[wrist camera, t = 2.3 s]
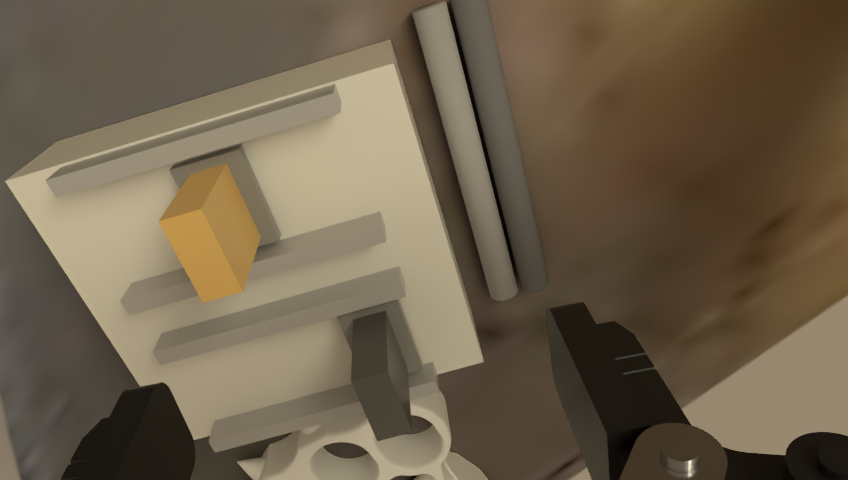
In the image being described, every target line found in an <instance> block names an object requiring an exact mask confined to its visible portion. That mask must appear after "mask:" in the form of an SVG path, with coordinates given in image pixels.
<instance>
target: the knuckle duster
mask: <svg viewBox="0 0 848 480" xmlns="http://www.w3.org/2000/svg"><path fill="white" fill-rule="evenodd" d="M410 409H411V415H415V416H419V417H422V418H424V419H426V420H428V421H429V422H430V423H432V426H431V427H429V428H428V429H426V430H425V431H423V432H420V433H417V434H411V435H405V434H404V435H400V436H396V437H392V438H389V439H385V440H381V441H377V439H376V437H375V435H374V433H373V430H372V428H371V426H370V424H369V421H368V419H367V417H366V414H365V413H362V414H358V415H354V416H351V417H347V418H343V419H339V420H336V421H332V422H328V423H324V424H321V425H317V426H313V427H309V428H306V429H302V430H298V431H294V432H292V433H291V434H290V435H289V436H288V437H286V438H284V439H283V440H280V441H278V442H275V443H272V444H269V445H268V447H267V449H266V450H265V452H264V454H263V455H262V457H260V458H254V459H248V460H242V461H236V462H237V463H238V464H239V465H240V466H241V467H242V469H243V470H244V471H245V472H246V473H247V474H248V475H249V476H250V477H251V478H252V479H253V480H391V479H392V478H394V477H396V476H400V475H405V476H413V475H419V476H417V477H416V478H415V479H413V480H488V479H487V477H486V476H485V475H484V474H483V473H482V471H481V470H480V469H479V468H478V467H476V466H475V465H473V464H472V463H470V462H469V461H468V460H466V459H465V458H463V457H462V456H460V455H459V454H457V453H454V452H451V451H449V450H450V446H451V433H450V426H449V420H448V413H447V407H446V401H445V398H444V396H443V394H442V393H441V391H440V393H437V394H433V395H429V396H425V397H422V398H418V399H414V400H410ZM336 442H348V443H353V444H356V445H359V446H361V447H362V448H364V449H365V450H366V451H367V452H368V453H367V454H365V455H363V456H361V457H357V458H340V457H337V456H334V455H332V454H330V453H329V452H328V451H326V449H325V448H324V447H323V446H325V445H328V444H331V443H336Z"/></svg>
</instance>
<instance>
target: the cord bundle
mask: <svg viewBox="0 0 848 480" xmlns="http://www.w3.org/2000/svg"><path fill="white" fill-rule="evenodd" d="M450 1H451V5H452V9H453V13H454V18H455V22H456V26H457V30H458V34H459V38H460V42H461V46H462V50H463V54H464V58H465V62H466V66H467V70H468V74H469V78H470V82H471V86H472V91H473V95H474V99H475V103H476V107H477V111H478V115H479V119H480V123H481V127H482V131H483V135H484V139H485V143H486V147H487V151H488V155H489V159H490V164H491V168H492V172H493V176H494V180H495V184H496V188H497V192H498V196H499V200H500V204H501V208H502V212H503V216H504V220H505V224H506V228H507V232H508V237H509V241H510V245H511V249H512V253H513V257H514V261H515V265H516V269H517V273H518V277H519V281H520V285H521V288H522V289H523V290H524V291H527V292H537V291H540V290H542V289H544V288H545V287H547V285H548V284H549V279H548V275H547V270H546V266H545V261H544V257H543V252H542V247H541V243H540V238H539V234H538V229H537V225H536V220H535V216H534V211H533V207H532V202H531V197H530V193H529V188H528V184H527V179H526V175H525V170H524V166H523V161H522V156H521V152H520V147H519V143H518V138H517V134H516V129H515V125H514V120H513V115H512V111H511V106H510V102H509V97H508V93H507V88H506V84H505V79H504V75H503V70H502V65H501V61H500V56H499V52H498V47H497V43H496V38H495V34H494V29H493V24H492V20H491V15H490V11H489V6H488V2H487V0H450ZM412 15H413V18H414V22H415V25H416V29H417V33H418V36H419V40H420V44H421V47H422V51H423V54H424V58H425V62H426V65H427V69H428V72H429V76H430V80H431V83H432V87H433V90H434V94H435V98H436V101H437V105H438V109H439V112H440V116H441V119H442V123H443V127H444V130H445V134H446V137H447V141H448V145H449V148H450V152H451V155H452V159H453V163H454V166H455V170H456V173H457V177H458V181H459V184H460V188H461V192H462V195H463V199H464V202H465V206H466V210H467V213H468V217H469V220H470V224H471V228H472V231H473V235H474V238H475V242H476V246H477V249H478V253H479V257H480V260H481V264H482V267H483V271H484V275H485V278H486V282H487V285H488V289H489V293H490V296H491V298H492V299H494V300H498V301H503V300H508V299H510V298H512V297H514V296H515V295H516V294H517V292H518V288H517V284H516V280H515V276H514V272H513V268H512V264H511V260H510V256H509V252H508V248H507V244H506V240H505V236H504V232H503V228H502V224H501V220H500V216H499V212H498V208H497V204H496V200H495V196H494V192H493V188H492V184H491V180H490V176H489V172H488V168H487V164H486V160H485V156H484V152H483V148H482V144H481V140H480V136H479V132H478V128H477V124H476V120H475V116H474V112H473V108H472V104H471V100H470V96H469V92H468V88H467V84H466V80H465V76H464V72H463V68H462V64H461V60H460V56H459V52H458V48H457V44H456V40H455V36H454V32H453V28H452V24H451V20H450V16H449V12H448V8H447V4H446V1H440V2H435V3H431V4H427V5H424V6H422V7H419V8H417V9H415V10H413V11H412Z"/></svg>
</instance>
